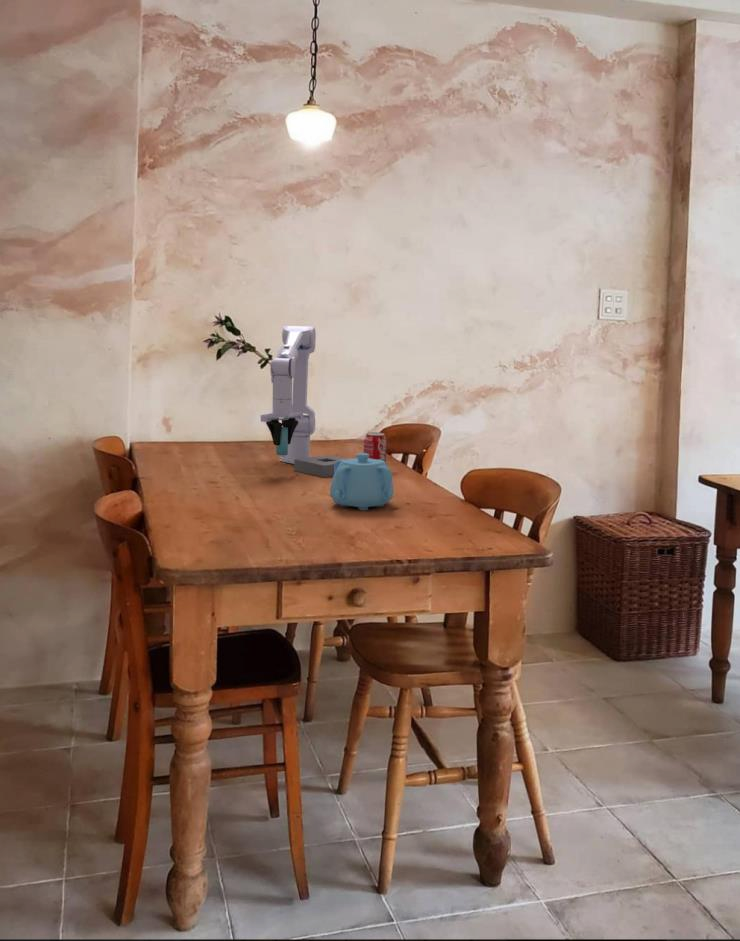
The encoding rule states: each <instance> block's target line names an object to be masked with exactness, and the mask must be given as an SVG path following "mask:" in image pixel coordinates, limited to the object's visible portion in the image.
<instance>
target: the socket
mask: <svg viewBox="0 0 740 941" xmlns="http://www.w3.org/2000/svg"><path fill="white" fill-rule="evenodd" d="M341 459H345V460H347V459H348V458H345V457H339V456H337V455H336V456H335V455H330V454H325V455H316V456H310V457H309V458H301V459H294V464H293V465H294V466H293V467H294V469H293V470H294V471H295V472H299V473H303V474H307V475H312V476H316V477H321V478H330V477H333V476H334V474H335V473H334V465H335V463H336V462H337V461H338V460H341Z"/></svg>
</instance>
